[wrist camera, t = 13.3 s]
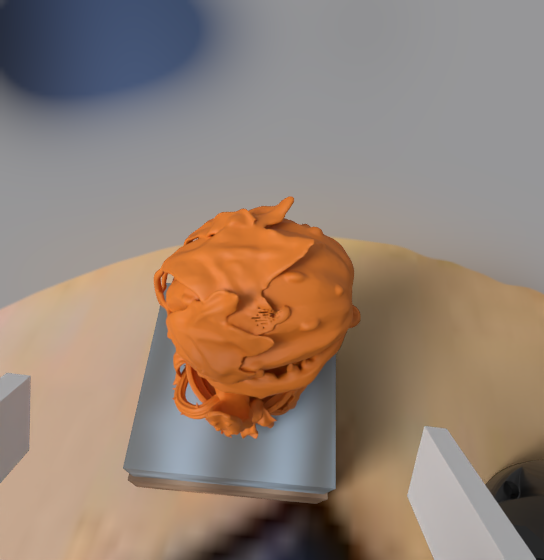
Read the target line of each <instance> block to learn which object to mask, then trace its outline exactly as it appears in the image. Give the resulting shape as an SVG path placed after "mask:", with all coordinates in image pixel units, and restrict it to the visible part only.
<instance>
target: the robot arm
mask: <svg viewBox="0 0 544 560" xmlns="http://www.w3.org/2000/svg"><path fill="white" fill-rule="evenodd" d="M30 380H31V376H28V375H20V374H12V373H6V374H5V375H3V376H2V377H1V378H0V483H1V482H2V481H3V480H4V478H5V477H6V476H7V475H8V474H9V473H10V472H11V470H12V469H13V468H14V467H15V466H16V465H17V463H18V462H19V461H20V460H21V459H22V458H23V457H24V455H25V454H26V453H27V452H28V451H29V435H30ZM407 496H408V499H409V501H410V504H411V506H412V508H413V511H414V513H415V515H416V518H417V520H418V523H419V525H420V527H421V530H422V532H423V534H424V537H425V539H426V542H427V544H428V546H429V549H430V551H431V553H432V556H433V558H434V560H544V460H534V461H528V462H524V463H521V464H517V465H514V466H510V467H508V468H506V469H504V470H502V471H500V472H499V473H497V474H496V475H495V476H494V477H492V478H491V479H490V480H489V481H488V483H487V484H486V485H485V484H484V483H483V481H482V480H481V478H480V477H479V475H478V474H477V472H476V471H475V469H474V468H473V466H472V465H471V464H470V462H469V461H468V459H467V458H466V456H465V455H464V453H463V452H462V450H461V449H460V448H459V446H458V445H457V443H456V442H455V440H454V439H453V437H452V436H451V434H450V433H449V431H448V430H447V429H445V428H437V427H429V426H424V430H423V434H422V438H421V442H420V446H419V450H418V454H417V458H416V462H415V466H414V470H413V474H412V478H411V482H410V487H409V491H408V495H407Z"/></svg>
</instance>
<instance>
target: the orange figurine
mask: <svg viewBox="0 0 544 560" xmlns="http://www.w3.org/2000/svg"><path fill="white" fill-rule="evenodd" d="M293 202H294V198H293V197H287V198H285V199H284V200H282V201H281V202H280V203H279V204H278V205H276V206H261V207H257V208H254V209H251V210H249V211H247V210H246V209H240V210H239V211H236V212H222V213H220V214H218V215H217V216H216V217H215V218H214V219H211V220H209V221H207V222H206V223H205V224H204V225H203V226H202V227H200V228H199V229H198V230H196V231H195V232H193V233H192V234H191V235H189V237H188V238H187V239H186V240H185V242H184V246H183V247H181V248H179V249H178V250H177V251H176V252H175V253H174V254H173V255H171V256H170V257H168V258H167V259H166V260H165V261H164V263H163V265H162V267H161V269H159V270H158V271H157V272H156V273H155V275H154V287H155V292H156V296H157V299H158V302H159V304H160V305H161V306H162V307H163V308H165V309H166V311H167V318H166V325H167V329H168V333H167V337H168V338H169V339H171V340H172V342H173V344H174V345H175V347H176V352H175V354H174V356H173V364H174V368H175V371H176V376H175V380H174V382H173V385H176V388H173V390H175V392H174V398H172V399H173V400H174V402H175V404H176V407H177V408H178V410H179V411H180V412H181V414H180V415H185V416H187V417H189V418H192V419H203V418H206V419H205V420H207V421H208V422H209V424H210V425H212V426H213V427H214V428H215V430H216V431H220V430H221V434H223V432H224V434H225V435H226V436H227V437H231V438H232V436H231V435H234V434H235V435H238V434H239V433H241V436H242V438H245V437H246V436H247V435H250V436H252V437H253V438H255V439H257V437H258V431H257V430H256V423H257V424H258V425H259V424H260V425H261V426H263V427H268V428H272V427H273V426H274V421H277V420H276V419H274V418H273V417H272V416H271V415H283V414H285V413H286V412H288V411H289V410H290V409H294V408H295V407H296V404H297V401H298V400H299V398H300V395H301V393H302V392H303V391H304V389H306V387H307V385H309V384H310V383H311V382H312V381H313V380H314V379H315V378H316V376H317V375H318V374H319V372H320V371H321V369H322V368H323V366H324V365H325V364H326V362H327V361H328V360H330V359H331V358H332V357H333V356H334V355H335V354H336V353H337V352H338V350H339V349H340V347H341V345H342V342H343V340H344V337H345V335H346V332H347V330H348V329H349V328H352V327H355V326H356V325H357V324H358V323H359V322H360V312H359V310H358V309H357V307H355V306H354V305H352V285H353V280H354V268H353V264H352V262H351V260H350V258H349V256H348V255H347V253H346V252H345V250H344V248H343V247H342V246H341V245H340V244H339V243H338V242H337V241H335V240H334V239H332V238H330V237H328V236H326V235H324V234H323V232H322V230H321V229H319V228H318V227H310V226H309V225H307V224H302V225H299V224H297V223H295V222H293V221H291V220H288V219H285V218H284V217H285V214H286V213H287V211H288V210H289V209H290V207H291V206H292V204H293ZM197 238H198V239H197ZM194 239H197V240H195V241H193V240H194ZM192 241H193V242H192ZM168 273H169V274H171V275H172V276H174V279H173V281H172V284H171V285H170V286H169V288H168V290H167V291H166V301H165V298H164V294H163V293H164V291H165V290H166V288H167V285H166V279H167V275H168ZM161 277H162V285H161V280H160V278H161ZM185 363H186V365H184V366H185V368H184V369H183V371H182V373H181V372H180V367H181V366H182V365H183V364H185ZM188 382H189V384H190V386H191V388H192V390H193V392H194V394H195V395H196V396H197V398H198V399H199V400H200V401H201V402H202V403H203V404H201V405H198V403H197V402H196V405H194V404H191V403H190V402H188V401H187V399H186V396H185V394H186V388H187V385H188Z"/></svg>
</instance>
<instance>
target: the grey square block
mask: <svg viewBox="0 0 544 560" xmlns="http://www.w3.org/2000/svg"><path fill="white" fill-rule="evenodd" d="M166 285H167V288H166V290H165V291H164V293H163V294H164V298H165V301H166V291H167V290H168V288H169V286H170V285H171V284H170V283H166ZM166 318H167V311H166V309H165V308H163V307H162V306H161V305H160V309H159V313H158V318H157V322H156V327H155V331H154V335H153V340H152V344H151V348H150V353H149V357H148V361H147V366H146V370H145V374H144V379H143V383H142V388H141V392H140V396H139V401H138V405H137V409H136V414H135V418H134V422H133V427H132V431H131V436H130V440H129V444H128V449H127V453H126V457H125V462H124V466H123V469H125V470H126V471H127V472H128V473H129V477H128V481H130V482H131V483H132V484H134V485H135V486H137V487H144V488H155V489H166V490H176V491H187V492H197V493H208V494H219V495H229V496H240V497H251V498H261V499H272V500H282V501H293V502H304V503H314V504H317V503H319V502H322V501H324V500H326V499H328V492H329V491H332V490H334V489H336V354H335V355H334V356H333V357H332V358H331V359H330V360H328V361H327V362H326V364H325V365H324V366H323V368H322V369H321V371H320V372H319V374H318V375H317V376H316V378H315V379H314V380H313V381H312V382H311V383H310V384H309V385H307V387H306V389H304V391H303V392H302V393H301V395H300V398H299V400H298V401H297V404H296V407H295V408H294V409H290V410H289V411H288V412H286V413H285V414H283V415H271V416H272V417H273V418H274V419H276V420H277V421H274V426H273V427H272V428H268V427H263V426H261V425H260V424H259V425H258V424H257V423H256V430H257V431H258V437H257V439H255V438H253V437H252V436H250V435H247V436H246V437H245V438H242V436H241V433H239V434H238V435H235V434H234V435H231V436H232V438H231V437H227V436H226V435H225V434H224V432H223V434H221V430H220V431H216V430H215V428H214V427H213V426H212V425H210V424H209V422H208V421H207V420H205V419H206V418H203V419H192V418H189V417H187V416H185V415H180V414H181V412H180V411H179V410H178V408H177V407H176V404H175V402H174V400H173V399H172V398H174V392H175V390H173V388H176V385H173V382H174V380H175V376H176V371H175V368H174V364H173V356H174V354H175V352H176V347H175V345H174V344H173V342H172V340H171V339H169V338H168V337H167V333H168V329H167V325H166ZM184 365H186V363H185V364H183V365H182V366H181V367H180V372H181V373H182V371H183V369H184V368H185V366H184ZM185 396H186V399H187V401H188V402H190V403H191V404H194V405H196V402H197V403H198V405H201V404H203V403H202V402H201V401H200V400H199V399H198V398H197V396H196V395H195V394H194V392H193V390H192V388H191V386H190V384H189V382H188V385H187V388H186V394H185Z"/></svg>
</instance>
